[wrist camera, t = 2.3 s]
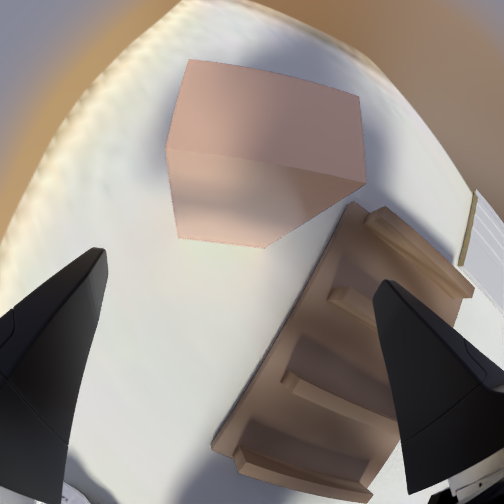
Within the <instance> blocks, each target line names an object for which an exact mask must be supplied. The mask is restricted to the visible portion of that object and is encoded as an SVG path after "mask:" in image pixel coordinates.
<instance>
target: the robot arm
mask: <svg viewBox="0 0 504 504" xmlns="http://www.w3.org/2000/svg"><path fill="white" fill-rule="evenodd" d="M107 279H108V264H107V254H106V250H105V249H103V248H96V247H93V248H91V249H89V250H88V251H86V252H85V253H84V254H82V255H81V256H79V257H78V258H76V259H75V260H74V261H72V262H71V263H70V264H68V265H67V266H65V267H64V268H63V269H61V270H60V271H59V272H57V273H56V274H55V275H53V276H52V277H51V278H49V279H48V280H47V281H46V282H44V283H43V284H42V285H40V286H39V287H38V288H37V289H35V290H34V291H33V292H31V293H30V294H29V295H28V296H26V297H25V298H24V299H23V300H22V301H20V302H19V303H18V304H17V305H15V306H14V307H13V309H10V310H9V311H8V312H7V313H6V314H5V315H3V316H2V317H1V318H0V504H34V501H35V500H37V501H40V502H43V503H46V504H61V501H62V490H63V480H64V472H65V464H66V457H67V451H68V446H67V445H68V444H69V438H70V432H71V427H72V422H73V417H74V412H75V407H76V403H77V398H78V394H79V389H80V385H81V381H82V377H83V373H84V369H85V366H86V362H87V358H88V355H89V351H90V348H91V344H92V341H93V337H94V334H95V331H96V328H97V324H98V321H99V316H100V311H101V306H102V301H103V297H104V292H105V288H106V283H107ZM372 304H373V309H374V314H375V320H376V326H377V332H378V338H379V342H380V346H381V350H382V354H383V358H384V362H385V366H386V371H387V375H388V379H389V384H390V388H391V393H392V397H393V402H394V407H395V412H396V417H397V423H398V428H399V434H400V440H401V443H402V444H401V447H402V453H403V460H404V467H405V474H406V482H407V491H408V495H411V494H413V493H416V492H418V491H421V490H423V489H426V488H428V487H431V486H433V485H435V484H437V483H440V482H442V481H444V480H446V479H447V480H448V483H449V487H447V488H446V489H444V490H442V491H440V492H438V493H436V494H433V495H431V497H430V500H429V502H428V504H504V371H503V370H502V369H501V368H500V367H498V366H497V365H496V364H495V363H494V362H492V361H491V360H490V359H489V358H487V357H486V356H485V355H484V354H483V353H481V352H480V351H479V350H478V349H477V348H475V347H474V346H473V345H472V344H471V343H470V342H469V341H467V340H466V339H465V338H463V336H462V335H460V334H459V333H458V332H457V331H456V330H455V329H454V328H452V327H451V326H450V325H449V324H448V323H446V322H445V321H444V320H443V319H442V318H441V317H439V316H438V315H437V314H436V313H435V312H433V311H432V310H431V309H430V308H429V307H427V306H426V305H425V304H424V303H422V302H421V301H420V300H419V299H418V298H416V297H415V296H414V295H413V294H411V293H410V292H409V291H408V290H406V289H405V288H404V287H403V286H401V285H400V284H399V283H397V282H396V281H395V280H390V279H384V280H383V281H382V282H381V283H380V285H379V287H378V289H377V290H376V292H375V294H374V295H373V299H372Z"/></svg>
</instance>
